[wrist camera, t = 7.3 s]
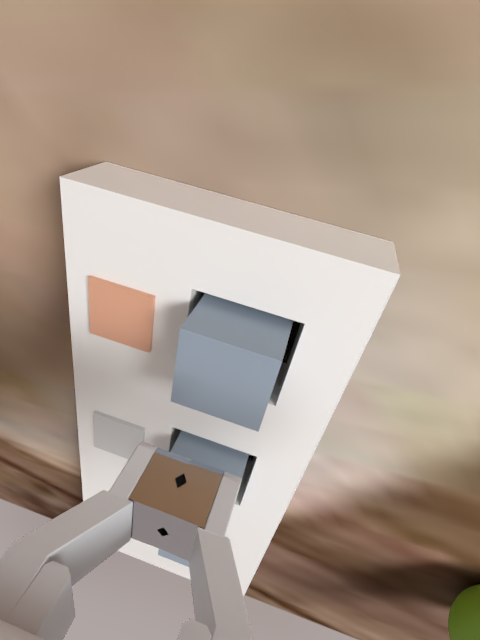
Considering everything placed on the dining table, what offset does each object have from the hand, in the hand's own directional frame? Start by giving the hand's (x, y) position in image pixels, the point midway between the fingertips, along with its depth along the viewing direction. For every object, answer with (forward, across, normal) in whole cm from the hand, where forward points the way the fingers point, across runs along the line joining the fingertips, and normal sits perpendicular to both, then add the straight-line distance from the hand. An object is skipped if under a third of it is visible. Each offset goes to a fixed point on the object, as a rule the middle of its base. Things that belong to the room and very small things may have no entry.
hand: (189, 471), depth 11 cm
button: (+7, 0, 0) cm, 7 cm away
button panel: (+9, +2, +8) cm, 12 cm away
